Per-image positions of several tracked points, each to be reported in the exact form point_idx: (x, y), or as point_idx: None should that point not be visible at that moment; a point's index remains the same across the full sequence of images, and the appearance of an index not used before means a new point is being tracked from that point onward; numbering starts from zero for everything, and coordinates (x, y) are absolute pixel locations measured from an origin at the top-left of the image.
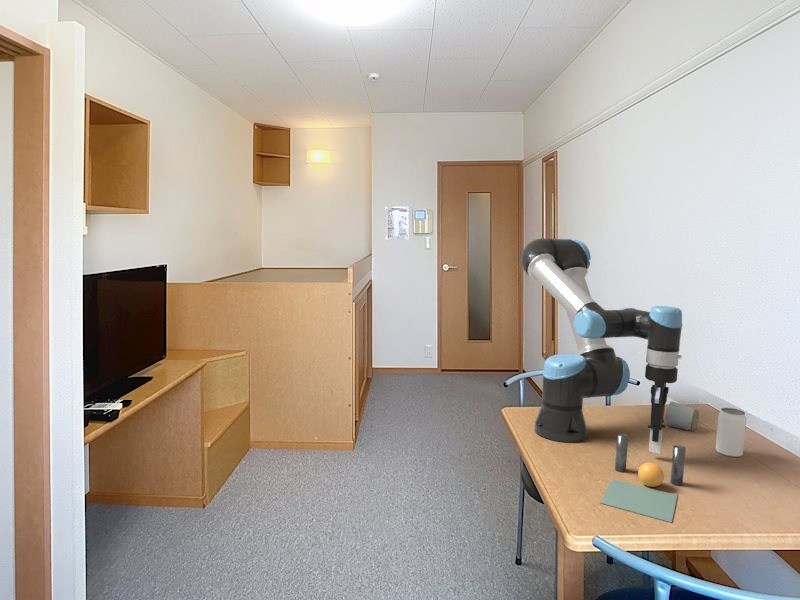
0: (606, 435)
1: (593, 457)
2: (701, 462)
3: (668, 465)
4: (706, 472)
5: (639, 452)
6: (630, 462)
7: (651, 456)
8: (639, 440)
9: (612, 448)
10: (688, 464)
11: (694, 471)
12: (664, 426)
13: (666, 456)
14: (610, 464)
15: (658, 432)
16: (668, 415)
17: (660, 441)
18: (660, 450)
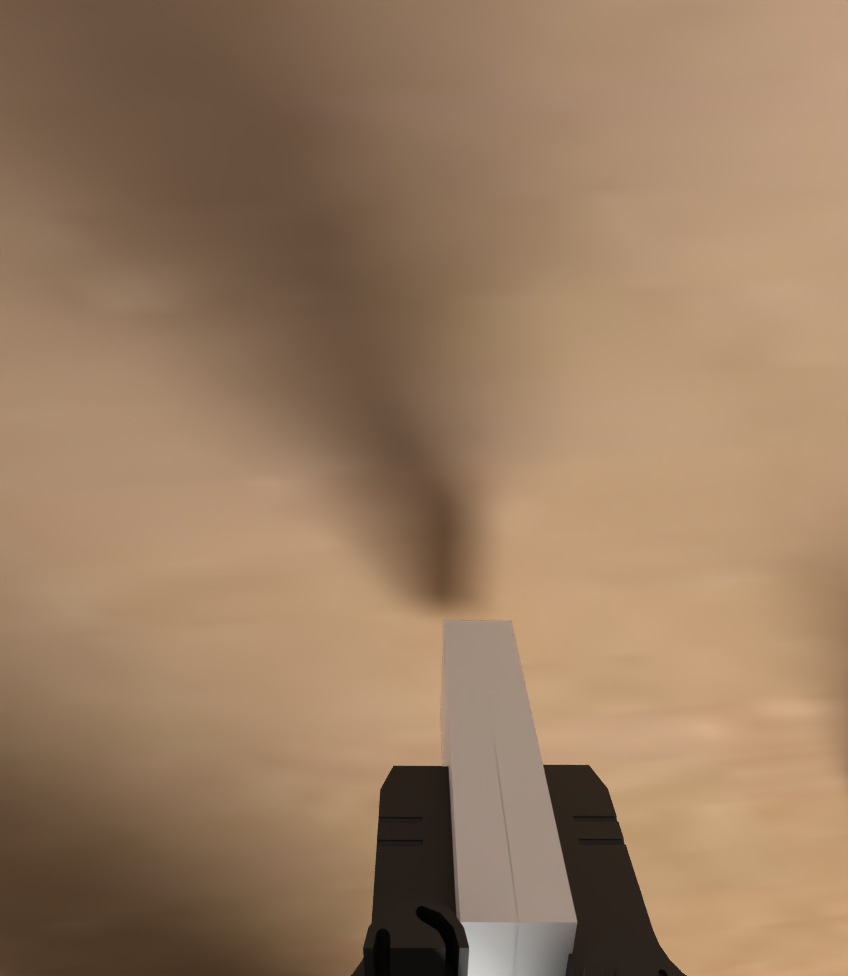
0: (140, 965)
1: (714, 960)
2: (228, 127)
3: (584, 486)
4: (580, 47)
5: (379, 736)
6: (688, 765)
7: (418, 643)
8: (33, 769)
9: None
10: (418, 288)
11: (625, 207)
12: (465, 957)
13: (315, 523)
14: (808, 866)
15: (648, 923)
16: None
17: (533, 742)
18: (459, 635)
